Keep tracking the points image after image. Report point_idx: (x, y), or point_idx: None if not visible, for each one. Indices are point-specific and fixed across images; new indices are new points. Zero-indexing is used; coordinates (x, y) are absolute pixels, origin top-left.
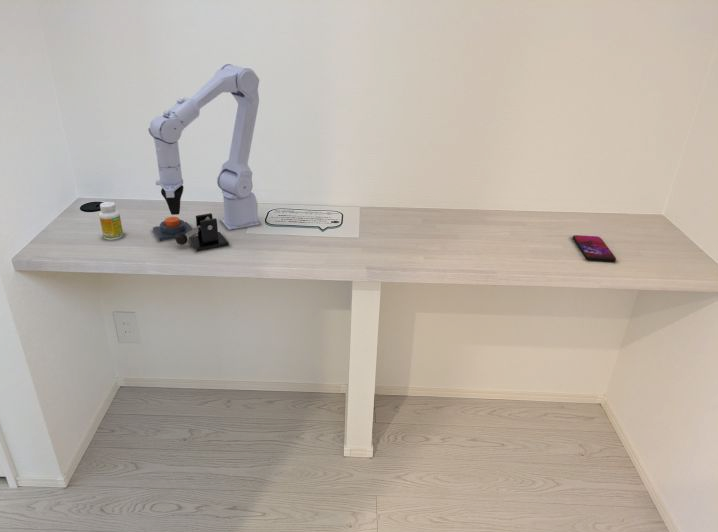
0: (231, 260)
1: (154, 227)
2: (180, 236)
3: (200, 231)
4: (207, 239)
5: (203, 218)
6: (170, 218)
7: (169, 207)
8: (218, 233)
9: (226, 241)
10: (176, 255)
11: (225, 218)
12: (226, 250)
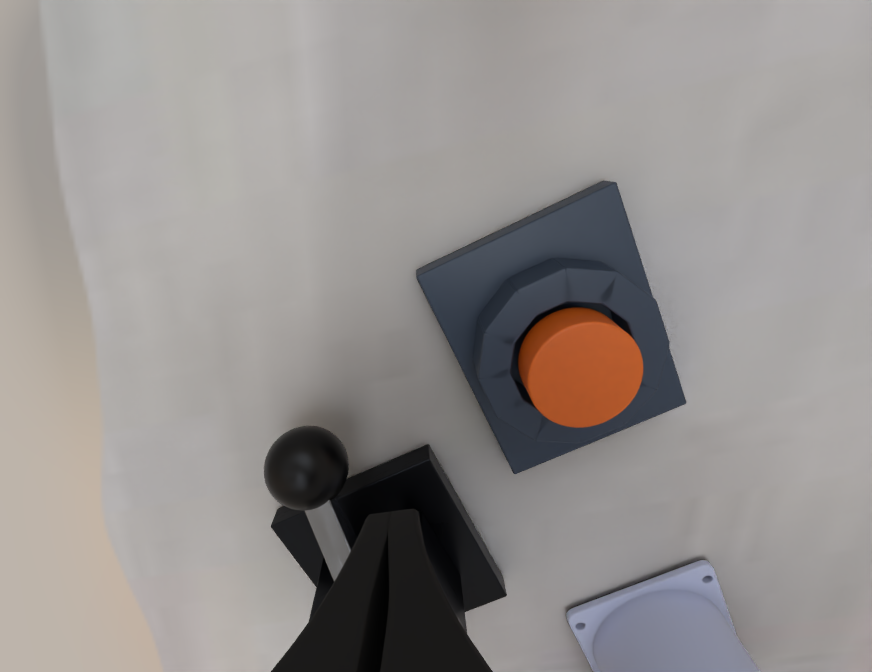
0: (209, 657)
1: (611, 197)
2: (273, 488)
3: None
4: None
5: None
6: (603, 363)
7: (339, 579)
8: (479, 596)
9: None
10: (222, 413)
11: (653, 624)
12: None
